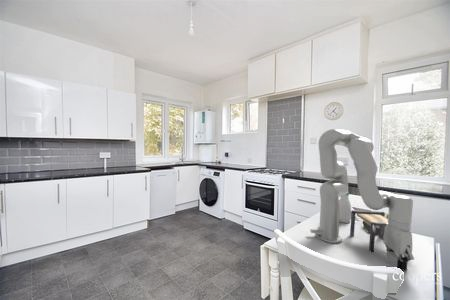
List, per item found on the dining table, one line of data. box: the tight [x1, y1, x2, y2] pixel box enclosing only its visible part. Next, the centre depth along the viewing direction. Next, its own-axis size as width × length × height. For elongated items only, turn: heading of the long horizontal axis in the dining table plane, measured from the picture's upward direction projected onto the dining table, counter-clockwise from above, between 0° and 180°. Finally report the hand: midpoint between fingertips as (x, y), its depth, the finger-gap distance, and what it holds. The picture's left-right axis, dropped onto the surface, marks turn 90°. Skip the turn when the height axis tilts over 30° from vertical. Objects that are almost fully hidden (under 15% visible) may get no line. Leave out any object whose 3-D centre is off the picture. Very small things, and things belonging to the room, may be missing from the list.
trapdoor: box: [356, 213, 388, 224], centre depth 104 cm, size 16×13×3 cm
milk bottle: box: [339, 191, 352, 224], centre depth 134 cm, size 8×8×20 cm
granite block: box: [385, 251, 409, 271], centre depth 85 cm, size 5×5×5 cm
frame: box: [349, 209, 387, 253], centre depth 104 cm, size 17×17×14 cm
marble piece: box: [362, 220, 386, 236], centre depth 120 cm, size 17×15×4 cm
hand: (396, 264), depth 85 cm, fingers closed on granite block, 5 cm apart
